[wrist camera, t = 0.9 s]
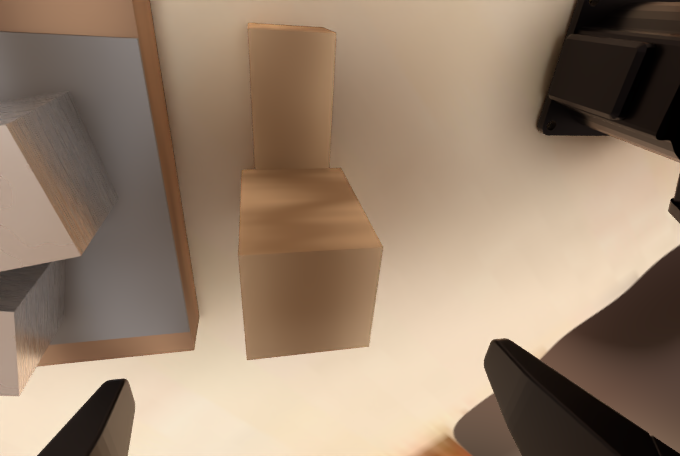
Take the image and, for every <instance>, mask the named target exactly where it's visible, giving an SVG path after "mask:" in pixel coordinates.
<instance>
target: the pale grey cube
mask: <svg viewBox="0 0 680 456" xmlns="http://www.w3.org/2000/svg"><path fill="white" fill-rule="evenodd" d="M118 198H119V197H118V195H117V192H116V190H115V188H114V186H113V184H112V182H111V179H110V177H109V175H108V173H107V171H106V169H105V167H104V164H103V162H102V160H101V158H100V156H99V154H98V151H97V149H96V147H95V145H94V143H93V141H92V138H91V136H90V134H89V132H88V130H87V128H86V126H85V123H84V121H83V119H82V117H81V115H80V113H79V110H78V108H77V106H76V104H75V102H74V100H73V97H72V95H71V93H70V91H66V92H59V93H53V94H46V95H39V96H32V97H25V98H18V99H12V100H5V101H0V272H1V271H6V270H11V269H16V268H22V267H27V266H32V265H37V264H42V263H48V262H53V261H58V260H63V259H68V258H74V257H79V256H81V255H82V254H83V252H84V251H85V249H86V248H87V246H88V245H89V243H90V241H91V240H92V238H93V237H94V235H95V234H96V232H97V231H98V229H99V227H100V226H101V224H102V223H103V221H104V220H105V218H106V217H107V215H108V214H109V212H110V210H111V209H112V207H113V206H114V204H115V203H116V201H117V200H118Z"/></svg>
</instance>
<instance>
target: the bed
mask: <svg viewBox="0 0 680 456" xmlns="http://www.w3.org/2000/svg"><path fill="white" fill-rule="evenodd" d="M66 91H70V93H71V95H72V97H73V100H74V102H75V104H76V106H77V108H78V110H79V113H80V115H81V117H82V119H83V121H84V123H85V126H86V128H87V130H88V132H89V134H90V136H91V138H92V141H93V143H94V145H95V147H96V149H97V151H98V154H99V156H100V158H101V160H102V162H103V164H104V167H105V169H106V171H107V173H108V175H109V177H110V179H111V182H112V184H113V186H114V188H115V190H116V192H117V195H118V197H119V198H118V200H117V201H116V203H115V204H114V206H113V207H112V209H111V210H110V212H109V214H108V215H107V217H106V218H105V220H104V221H103V223H102V224H101V226H100V227H99V229H98V231H97V232H96V234H95V235H94V237H93V238H92V240H91V241H90V243H89V245H88V246H87V248H86V249H85V251H84V252H83V254H82V255H81V256H79V257H74V258H68V259H65V298H64V319H63V321H62V323H61V325H60V326H59V328H58V330H57V331H56V333H55V335H54V337H53V338H52V340H51V342H50V344H49V345H48V347H47V349H46V351H45V352H44V354H43V356H42V358H41V359H40V361H39V363H38V365H37V366H45V365H55V364H65V363H75V362H84V361H94V360H104V359H114V358H123V357H133V356H143V355H152V354H162V353H172V352H182V351H191V350H194V348H195V341H196V335H197V328H198V322H199V311H198V305H197V298H196V292H195V286H194V279H193V273H192V267H191V260H190V254H189V248H188V241H187V235H186V229H185V222H184V216H183V210H182V203H181V197H180V191H179V184H178V178H177V172H176V165H175V159H174V153H173V146H172V140H171V134H170V127H169V121H168V115H167V109H166V102H165V96H164V90H163V83H162V77H161V71H160V64H159V58H158V52H157V45H156V39H155V33H154V26H153V20H152V14H151V7H150V1H149V0H0V101H5V100H12V99H18V98H25V97H32V96H39V95H46V94H53V93H59V92H66Z"/></svg>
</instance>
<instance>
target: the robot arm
mask: <svg viewBox="0 0 680 456" xmlns="http://www.w3.org/2000/svg"><path fill="white" fill-rule="evenodd" d="M550 121H551V124H550V126H549V127H548V128H547V125H548V123H549V122H550ZM537 128H538V131H539V132H541V133H543V134H545V135H574V136H613V137H615V138H618V139H620V140H623V141H626V142H628V143H631V144H633V145H636V146H638V147H641V148H644V149H646V150H649V151H651V152H654V153H656V154H659V155H662V156H664V157H667V158H669V159H672V160H674V161H677V162H680V0H592V2H591V4H589V0H578V1H577V4H576V7H575V10H574V13H573V16H572V19H571V22H570V25H569V28H568V32H567V35H566V38H565V41H564V44H563V47H562V50H561V53H560V56H559V59H558V63H557V66H556V69H555V72H554V75H553V78H552V81H551V84H550V87H549V90H548V94H547V97H546V100H545V103H544V106H543V109H542V112H541V115H540V118H539V121H538V126H537ZM668 211H669V213H670V214H671V215H672V216H673V217H674V218H675V219H676V220H677V221H678V222H679V223H680V174H679V178H678V183H677V187H676V191H675V196H674V198H672V199H671V201H670V205H669V210H668ZM484 368H485V371H486V374H487V376H488V379H489V381H490V384H491V387H492V389H493V392H494V394H495V397H496V399H497V402H498V405H499V407H500V410H501V412H502V415H503V417H504V420H505V422H506V424H507V426H508V429H509V431H510V433H511V435H512V437H513V439H514V441H515V443H516V445H517V447H518V448H519V451H520V453H521V455H522V456H680V454H679V453H678V452H676V451H675V450H673V449H672V448H670V447H669V446H667V445H666V444H664V443H663V442H661V441H660V440H658V439H656V438H655V437H654V436H650V435H649V433H648V432H646V431H645V430H643V429H642V428H640V427H639V426H637V425H636V424H634V423H633V422H631V421H630V420H628V419H627V418H625V417H624V416H623V415H621V414H620V413H618V412H616V411H615V410H614V409H612V408H611V407H609V406H608V405H606V404H605V403H603V402H602V401H600V400H599V399H597V398H596V397H594V396H593V395H591V394H590V393H588V392H587V391H585V390H584V389H582V388H581V387H579V386H578V385H576V384H575V383H573V382H572V381H570V380H569V379H567V378H566V377H564V376H563V375H562V374H560V373H559V372H557V371H556V370H554V369H553V368H551V367H549V366H548V365H547V364H545V363H544V362H542V361H541V360H539V359H538V358H536V357H535V356H533V355H532V354H530V353H529V352H527V351H526V350H524V349H523V348H521V347H520V346H518V345H517V344H515V343H514V342H512V341H511V340H509V339H506V338H503V339H494V340H492V341H491V343H490V345H489V348H488V351H487V353H486V356H485V359H484ZM134 413H135V401H134V398H133V395H132V391H131V388H130V385H129V382H128V380H126V379H115V380H108V381H106V382H105V383H103V384H102V385H101V387H100V388H99V389H98V390H97V391H96V392H95V393H94V394H93V395H92V396H91V397H90V399H89V400H88V401H87V402H86V403H85V404H84V405H83V406H82V407H81V408H80V409H79V411H78V412H77V413H76V414H75V415H74V416H73V417H72V418H71V419H70V420H69V422H68V423H67V424H66V425H65V426H64V427H63V428H62V429H61V430H60V431H59V432H58V434H57V435H56V436H55V437H54V438H53V439H52V440H51V441H50V442H49V443H48V444H47V446H46V447H45V448H44V449H43V450H42V451H41V452H40V453H39V454H38V455H37V456H128V450H129V444H130V438H131V432H132V426H133V419H134Z"/></svg>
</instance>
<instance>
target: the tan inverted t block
mask: <svg viewBox="0 0 680 456" xmlns="http://www.w3.org/2000/svg"><path fill="white" fill-rule="evenodd" d="M248 44H249V64H250V84H251V104H252V124H253V144H254V164H255V169H249V170H242V176H241V201H240V226H239V250H238V258H239V270H240V283H241V295H242V307H243V319H244V331H245V343H246V355H247V360H253V359H262V358H271V357H280V356H289V355H297V354H306V353H315V352H324V351H333V350H342V349H351V348H360V347H369V341H370V334H371V327H372V321H373V314H374V307H375V300H376V293H377V286H378V279H379V272H380V265H381V258H382V251H383V246H382V244H381V242H380V241H379V239H378V237H377V235H376V233H375V231H374V229H373V227H372V226H371V224H370V222H369V220H368V218H367V216H366V214H365V212H364V211H363V209H362V207H361V205H360V203H359V201H358V199H357V197H356V195H355V194H354V192H353V190H352V188H351V186H350V184H349V182H348V180H347V179H346V177H345V175H344V173H343V171H342V169H341V168H329V161H330V142H331V124H332V105H333V86H334V67H335V49H336V33H335V32H332V31H330V30H328V29H325V28H323V27H307V26H291V25H274V24H257V23H248Z"/></svg>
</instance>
